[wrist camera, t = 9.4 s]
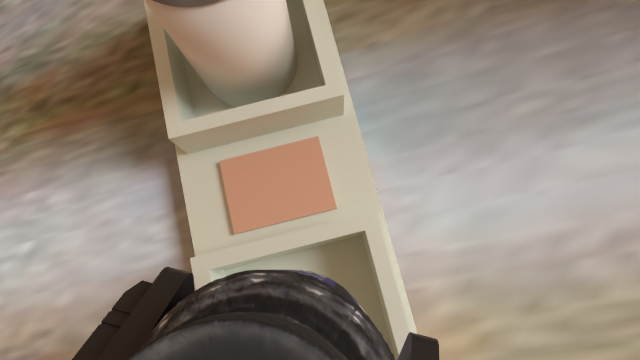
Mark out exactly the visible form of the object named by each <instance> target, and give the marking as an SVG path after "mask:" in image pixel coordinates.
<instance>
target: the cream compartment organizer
mask: <svg viewBox="0 0 640 360" xmlns="http://www.w3.org/2000/svg"><path fill="white" fill-rule="evenodd" d="M144 5H145V10H146V16H147V21H148V27H149V33H150V38H151V44H152V49H153V55H154V61H155V66H156V72H157V77H158V83H159V88H160V94H161V100H162V105H163V111H164V116H165V122H166V128H167V133H168V139H169V140H171V141H172V142H173V143H174V144H175V149H176V155H177V160H178V166H179V171H180V177H181V182H182V188H183V193H184V199H185V204H186V210H187V215H188V221H189V226H190V232H191V237H192V243H193V248H194V254H195V257H192V258H190V262H191V267H192V273H193V276H194V284H195V289H196V290H197V289H199V288H201V287H203V286H204V285H207V283H210V282H212V281H214V280H216V279H221V278H224V277H226V276H228V275H231V274H234V273H238V272H242V271H246V270H271V269H272V270H303V271H311V272H314V273H317V274H320V275H323V276H326V277H328V278H330V279H332V280H334V281H335V282H337V283H338V284H340V285H341V286H343V287H344V288H345V289H346V290H347V291H348V292H349V293H350V294H351V295H352V296H353V298H354V299H355V300H356V301H357V302H358V303H359V305H360V306H361V307H362V309H363V310H364V311H365V313H366V314H367V315H368V316H369V317H370V319H371V320H372V322H373V323H374V325H375V326H376V327H377V329H378V330H379V331H380V333H381V334H382V336H383V338H384V340H385V342H386V343H387V344H388V346H389V348H390V351H391V352H392V354H393V356H394V359H395V360H397V359H398V357H399V354H400V352H401V350H402V347H403V345H404V342H405V340H406V338H407V335H408V334H409V332H412V333H415V334H417V330H416V327H415V323H414V320H413V316H412V313H411V309H410V306H409V302H408V298H407V295H406V291H405V288H404V284H403V281H402V277H401V274H400V270H399V267H398V263H397V259H396V256H395V252H394V249H393V245H392V242H391V238H390V235H389V231H388V228H387V224H386V220H385V217H384V213H383V210H382V206H381V203H380V199H379V196H378V192H377V189H376V185H375V181H374V178H373V174H372V171H371V167H370V164H369V160H368V157H367V153H366V150H365V146H364V142H363V139H362V135H361V132H360V128H359V125H358V121H357V118H356V114H355V111H354V107H353V103H352V100H351V96H350V93H349V89H348V86H347V82H346V79H345V75H344V72H343V68H342V64H341V61H340V57H339V54H338V50H337V47H336V43H335V40H334V36H333V33H332V29H331V25H330V22H329V18H328V15H327V11H326V8H325V4H324V1H323V0H144Z"/></svg>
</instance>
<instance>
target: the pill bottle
mask: <svg viewBox="0 0 640 360" xmlns="http://www.w3.org/2000/svg"><path fill="white" fill-rule="evenodd" d="M128 360H395V359H394V356H393V354H392V352H391V351H390V348H389V346H388V344H387V343H386V342H385V340H384V338H383V336H382V334H381V333H380V331H379V330H378V329H377V327H376V326H375V325H374V323H373V322H372V320H371V319H370V317H369V316H368V315H367V314H366V313H365V311H364V310H363V309H362V307H361V306H360V305H359V303H358V302H357V301H356V300H355V299H354V298H353V296H352V295H351V294H350V293H349V292H348V291H347V290H346V289H345V288H344V287H343V286H341V285H340V284H338V283H337V282H335V281H334V280H332V279H330V278H328V277H326V276H323V275H320V274H317V273H314V272H311V271H303V270H272V269H271V270H246V271H242V272H238V273H234V274H231V275H228V276H226V277H224V278H221V279H216V280H214V281H212V282H210V283H207V285H204V286H203V287H201V288H199V289H197V290H196V291H194V292H192V293H191V294H190V295H188V296H186V297H185V298H184V299H183V300H181V301H179V302H178V303H177V304H176V305H175V306H174V307H173V308H172V309H171V310H170V311H168V312H167V313H166V314H165V315H164V316H163V318H162V319H161V320H160V321H159V323H158V324H157V325H156V326H155V328H154V329H153V330H152V331H151V332H150V334H149V335H148V336H147V338H146V339H145V341H144V342H143V343H142V345H141V347H140V349H139V350H138V352H136V353H135V354H134V355H133V356H132V357H131V358H130V359H128Z"/></svg>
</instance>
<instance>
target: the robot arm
mask: <svg viewBox="0 0 640 360" xmlns="http://www.w3.org/2000/svg"><path fill="white" fill-rule="evenodd" d="M192 292H194V276H193V274H192V273H189V272H186V271H182V270H178V269H174V268H170V267H165V268H164V269H163V270H162V271H161V272H160V274H159V275H158V277H157V278H156V279H155V281H154V282H153V283H149V282H146V281H141V282H139V283H138V284H136V285H135V286H133V287H132V288H130V289H129V290H128V291H126V292H125V293H124V294H123V295H122V296H121V298H120V299H119V300H118V301H117V303H116V304H115V305H114V307H113V308H112V311H111V312H109V313H108V314H107V316H106V317H105V318H104V319H103V321H102V323H101V325H99V326H98V327H97V328H96V330H95V331H94V332H93V333H92V335H91V336H90V337H89V339H88V340H87V341H86V342H85V344H84V345H83V346H82V348H81V349H80V350H79V351H78V353H77V354H76V355H75V356H74V358H73V359H72V360H128V359H130V358H131V357H132V356H133V355H134V354H135V353H136V352H138V350H139V349H140V347H141V345H142V343H143V342H144V341H145V339H146V338H147V336H148V335H149V334H150V332H151V331H152V330H153V329H154V328H155V326H156V325H157V324H158V323H159V321H160V320H161V319H162V318H163V316H164V315H165V314H166V313H167V312H168V311H170V310H171V309H172V308H173V307H174V306H175V305H176V304H177V303H178V302H179V301H181V300H183V299H184V298H185V297H186V296H188V295H190V294H191V293H192ZM397 360H439V344H438V340H437V339H434V338H430V337H427V336H423V335H419V334H415V333H412V332H409V334H408V335H407V338H406V340H405V342H404V345H403V347H402V350H401V352H400V354H399V357H398V359H397Z"/></svg>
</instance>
